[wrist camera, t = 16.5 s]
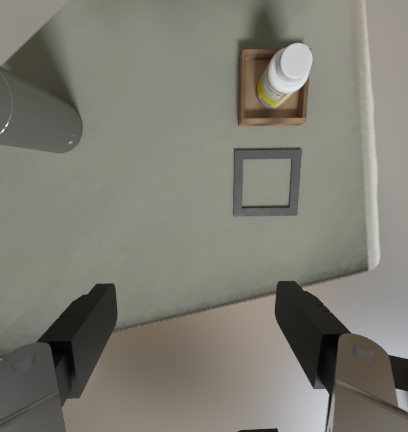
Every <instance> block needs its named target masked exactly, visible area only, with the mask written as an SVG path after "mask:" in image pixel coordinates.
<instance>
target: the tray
mask: <svg viewBox="0 0 408 432" xmlns="http://www.w3.org/2000/svg"><path fill="white" fill-rule="evenodd" d="M309 49H310V51H311V48H309ZM279 50H281V49H242V52H241V55H240V61H239V122H238V126H276V125H300V124H302V123H304V122H306V112H307V98H308V84H309V76H308V78H307V80H306V82H305V83H304V85H303V86H302V87H301V88H300V89H299V90H298V91H296V92H295V93H294V94H293V95H292V96H291V97H290V98H289V99H288V100H286V101H285V102H284V103H283V104H282V105H281V106H279V107H277V108H266V107H264V106H262V105H261V104H260V103H259V101H258V99H257V96H256V87H257V84H258V82H259V80H260V78H261V76H262V75H263V73H264V71H265V70H266V68H267V66H268V64H269V63H270V61H271V59H272V58H273V56H274V55H275V54H276V53H277V52H278V51H279Z"/></svg>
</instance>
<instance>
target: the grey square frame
mask: <svg viewBox="0 0 408 432" xmlns="http://www.w3.org/2000/svg"><path fill="white" fill-rule="evenodd" d="M301 154H302V150H237V151H234V216H295V215H297V210H298V196H299V182H300V168H301ZM243 159H292V166H291V182H290V198H289V207H284V208H242V181H243Z"/></svg>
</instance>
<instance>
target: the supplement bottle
mask: <svg viewBox="0 0 408 432" xmlns="http://www.w3.org/2000/svg"><path fill="white" fill-rule="evenodd" d="M311 65H312V53H311V51H310V49H309V48H308V47H307V46H306V45H304V44H302V43H294V44H291V45H289V46H288V47H286V48H283V49H281V50H279V51H278V52H277V53H276V54H275V55H274V56H273V58H272V59H271V61H270V63H269V64H268V66H267V68H266V70H265V71H264V73H263V75H262V76H261V78H260V80H259V82H258V84H257V87H256V96H257V99H258V101H259V103H260V104H261V105H262V106H264V107H266V108H277V107H279V106H281V105H282V104H283V103H284V102H285V101H286V100H288V99H289V98H290V97H291V96H292V95H293V94H294V93H295V92H296V91H298V90H299V89H300V88H301V87H302V86H303V85H304V83H305V82H306V80H307V78H308V76H309V72H310V68H311Z"/></svg>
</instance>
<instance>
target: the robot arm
mask: <svg viewBox="0 0 408 432" xmlns="http://www.w3.org/2000/svg"><path fill="white" fill-rule="evenodd" d="M81 135H82V123H81V119H80V117H79V115H78V113H77V111H76V110H75V109H74V107H73V106H72V105H70V104H69V103H68V102H66V101H65V100H63V99H61V98H59V97H57V96H55V95H53V94H52V93H50V92H48V91H46V90H44V89H42V88H40V87H39V86H37V85H35V84H33V83H31V82H29V81H27V80H25V79H23V78H22V77H20V76H18V75H16V74H14V73H12V72H10V71H8V70H6V69H5V68H3V67H1V66H0V145H6V146H13V147H20V148H27V149H34V150H40V151H48V152H55V153H64V152H67V151H69V150H71V149H73V148H74V147H75V146H76V145H77V144H78V142H79V141H80V138H81ZM275 316H276V320H277V323H278V325H279V326H280V328H281V330H282V332H283V334H284V335H285V337H286V339H287V341H288V343H289V345H290V347H291V348H292V350H293V352H294V354H295V356H296V357H297V359H298V361H299V363H300V365H301V367H302V368H303V370H304V372H305V374H306V376H307V378H308V379H309V381H310V383H311V385H312V387H313V389H326V390H327V391H328V393H329V398H328V406H327V415H326V424H325V432H408V359H405V358H400V357H395V356H391V355H388V354H387V353H386V351H385V350H384V349H383V348H382V347H381V346H379V345H378V344H377V343H375V342H374V341H372V340H370V339H368V338H366V337H364V336H361V335H357V334H352V333H351V332H350V331H349V330H348V329H347V328H346V327H345V326H344V325H343V324H342V323H341V322H340V321H339V320H338V319H337V318H336V317H335V316H334V315H333V314H332V313H330V310H329V309H328V308H327V307H326V306H324V304H323V303H322V302H321V301H320V300H319V299H318V298H317V297H315V296H314V295H312V294H311V293H309V292H307V291H303V289H302V288H301V287H300V286H299V285H298V284H297V283H296V282H295V281H279V282H278V284H277V291H276V302H275ZM116 321H117V302H116V290H115V285H114V284H113V283H111V284H96V285H95V286H94V287H93V288H92V290H91V291H90V292H89V293H88V294H87V295H82V296H81V297H79V298H78V299H76V300H75V301H73V302H72V303H71V304H70V305H69V306H68V308H67V309H66V310H65V311H64V312H63V313H62V314H61V315H60V316H59V318H58V319H57V320H56V321H55V322H54V323H53V324H52V325H51V326H50V327H49V329H48V330H47V331H46V332H45V333H44V334H43V335H42V336H41V337H40V339H39V340H38V341H37V342H36V343H31V344H28V345H25V346H22V347H20V348H18V349H16V350H14V351H12V352H11V353H9V354H8V355H6V356H5V357H4V358H3V359H2V360H1V361H0V432H66V429H65V423H64V418H63V412H62V406H63V405H64V403H65V401H66V399H69V398H80V396H81V394H82V392H83V390H84V388H85V386H86V384H87V382H88V380H89V378H90V376H91V374H92V372H93V370H94V368H95V365H96V364H97V362H98V360H99V358H100V356H101V354H102V352H103V349H104V347H105V345H106V343H107V341H108V339H109V337H110V335H111V333H112V331H113V329H114V327H115V325H116ZM238 432H278V429H277V428H275V429H256V430H240V431H238Z"/></svg>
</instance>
